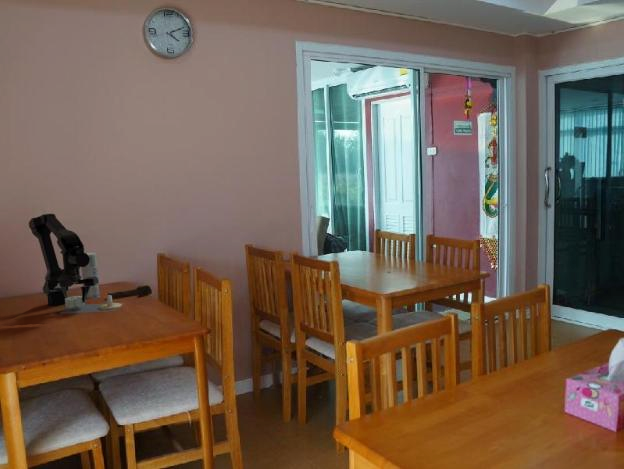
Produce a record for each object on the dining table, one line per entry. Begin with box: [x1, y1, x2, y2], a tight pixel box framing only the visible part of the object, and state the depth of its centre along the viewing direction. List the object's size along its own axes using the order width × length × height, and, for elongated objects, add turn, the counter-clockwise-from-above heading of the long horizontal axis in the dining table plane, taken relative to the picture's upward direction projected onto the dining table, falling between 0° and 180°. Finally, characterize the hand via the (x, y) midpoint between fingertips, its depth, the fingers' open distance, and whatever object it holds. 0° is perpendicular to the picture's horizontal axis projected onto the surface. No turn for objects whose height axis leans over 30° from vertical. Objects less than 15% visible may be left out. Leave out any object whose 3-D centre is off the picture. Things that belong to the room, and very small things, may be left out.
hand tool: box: [107, 285, 153, 300], centre depth 250 cm, size 19×4×5 cm, turn 122°
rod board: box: [58, 294, 125, 315], centre depth 230 cm, size 22×14×6 cm, turn 91°
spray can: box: [81, 252, 100, 299], centre depth 253 cm, size 6×6×20 cm
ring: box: [64, 295, 86, 308], centre depth 230 cm, size 7×7×3 cm
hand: (75, 303), depth 230 cm, fingers closed on ring, 7 cm apart
